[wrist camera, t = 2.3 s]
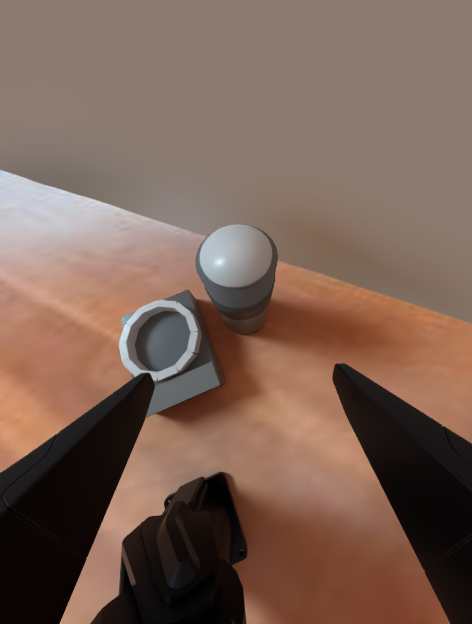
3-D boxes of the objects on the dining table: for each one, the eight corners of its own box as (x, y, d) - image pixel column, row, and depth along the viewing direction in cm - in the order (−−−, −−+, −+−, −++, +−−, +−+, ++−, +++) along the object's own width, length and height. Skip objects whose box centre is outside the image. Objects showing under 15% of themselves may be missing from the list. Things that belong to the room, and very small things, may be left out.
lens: (274, 324, 23) (296, 271, 11) (233, 342, 23) (208, 307, 11) (255, 288, 25) (256, 207, 13) (217, 304, 25) (181, 237, 13)
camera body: (225, 382, 21) (218, 385, 17) (155, 413, 21) (130, 424, 17) (195, 298, 25) (183, 283, 21) (136, 323, 25) (111, 313, 21)
